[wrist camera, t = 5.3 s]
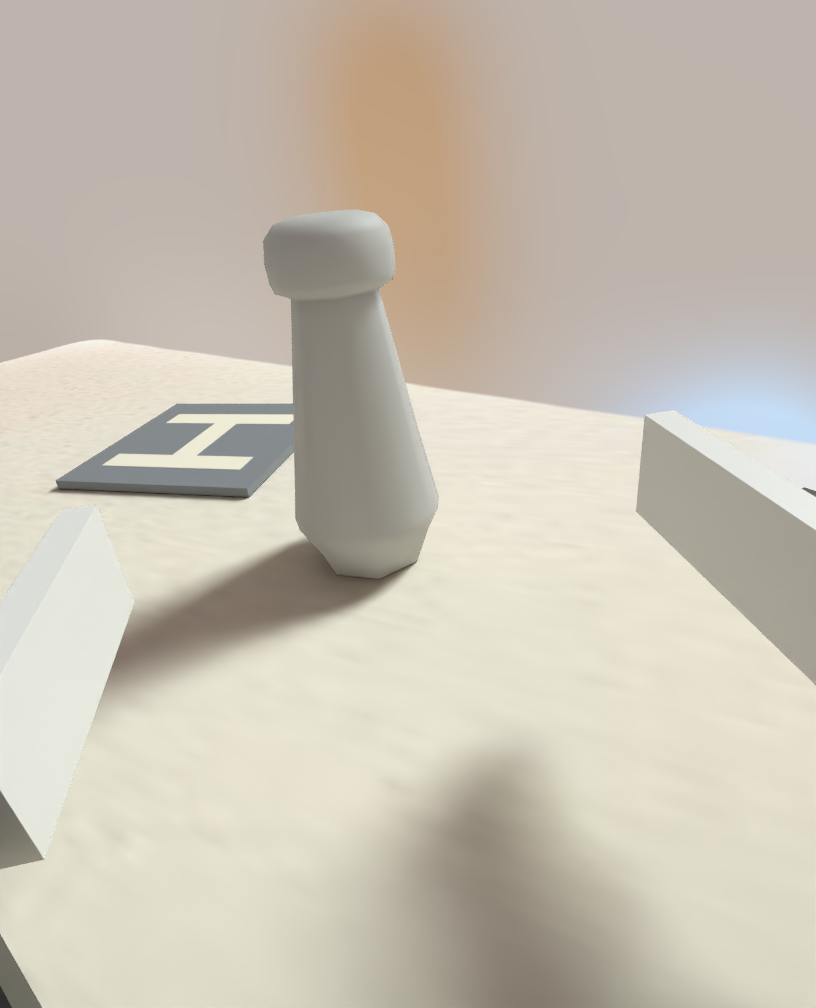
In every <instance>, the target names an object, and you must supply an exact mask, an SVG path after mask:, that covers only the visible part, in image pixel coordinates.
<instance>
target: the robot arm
mask: <svg viewBox="0 0 816 1008" xmlns="http://www.w3.org/2000/svg"><path fill="white" fill-rule="evenodd" d="M636 512H637V513H638V514H639V515H640V516H641V517H643V518H644V519H645V520H646V521H647V522H648V523H649V524H650V525H651V526H652V527H653V528H654V529H655V530H656V531H657V532H658V533H659V534H660V535H661V536H662V537H663V538H664V539H665V540H666V541H667V542H668V543H669V544H670V545H671V546H672V547H674V548H675V549H676V550H677V551H678V552H679V553H680V554H681V555H682V556H683V557H684V558H685V559H686V560H687V561H688V562H689V563H690V564H691V565H692V566H693V567H694V568H695V569H696V570H697V571H698V572H699V573H700V574H701V575H702V576H703V577H705V578H706V579H707V580H708V581H709V582H710V583H711V584H712V585H713V586H714V587H715V588H716V589H717V590H718V591H719V592H720V593H721V594H722V595H723V596H724V597H725V598H726V599H727V600H728V601H729V602H730V603H731V604H732V605H733V606H735V607H736V608H737V609H738V610H739V611H740V612H741V613H742V614H743V615H744V616H745V617H746V618H747V619H748V620H749V621H750V622H751V623H752V624H753V625H754V626H755V627H756V628H757V629H758V630H759V631H760V632H761V633H762V634H763V635H764V636H766V637H767V638H768V639H769V640H770V641H771V642H772V643H773V644H774V645H775V646H776V647H777V648H778V649H779V650H780V651H781V652H782V653H783V654H784V655H785V656H786V657H787V658H788V659H789V660H790V661H791V662H792V663H793V664H794V665H795V666H797V667H798V668H799V669H800V670H801V671H802V672H803V673H804V674H805V675H806V676H807V677H808V678H809V679H810V680H811V681H812V682H813V683H814V684H815V685H816V491H813V490H810V489H808V488H800V487H798V486H797V485H795V484H794V483H792V482H790V481H789V480H787V479H785V478H784V477H782V476H780V475H779V474H777V473H776V472H774V471H772V470H771V469H769V468H767V467H766V466H764V465H763V464H761V463H759V462H758V461H756V460H754V459H753V458H751V457H749V456H748V455H746V454H745V453H743V452H741V451H740V450H738V449H736V448H735V447H733V446H732V445H730V444H728V443H727V442H725V441H723V440H722V439H720V438H719V437H717V436H715V435H714V434H712V433H710V432H709V431H707V430H705V429H704V428H702V427H701V426H699V425H697V424H696V423H694V422H692V421H691V420H689V419H688V418H686V417H684V416H682V415H681V414H679V413H678V412H676V411H674V410H672V411H666V412H659V413H654V414H647V415H645V419H644V430H643V441H642V452H641V463H640V474H639V485H638V496H637V507H636ZM134 602H135V601H134V598H133V595H132V593H131V590H130V588H129V585H128V583H127V580H126V577H125V575H124V572H123V570H122V567H121V565H120V562H119V560H118V557H117V554H116V552H115V549H114V547H113V544H112V542H111V539H110V536H109V534H108V531H107V529H106V526H105V524H104V521H103V518H102V516H101V513H100V511H99V508H98V506H97V504H94V505H88V506H82V507H75V508H69V509H63V510H61V511H60V513H59V514H58V516H57V517H56V519H55V520H54V522H53V523H52V525H51V526H50V528H49V530H48V531H47V533H46V534H45V536H44V537H43V539H42V540H41V542H40V543H39V545H38V546H37V548H36V549H35V551H34V552H33V554H32V555H31V557H30V558H29V560H28V561H27V563H26V564H25V566H24V567H23V569H22V570H21V572H20V573H19V575H18V576H17V578H16V579H15V581H14V582H13V584H12V585H11V587H10V588H9V590H8V591H7V593H6V594H5V596H4V597H3V599H2V600H1V602H0V869H2V868H7V867H11V866H16V865H21V864H25V863H30V862H34V861H39V860H44V859H45V856H46V853H47V850H48V847H49V844H50V842H51V839H52V836H53V833H54V830H55V827H56V825H57V822H58V819H59V816H60V813H61V810H62V807H63V805H64V802H65V799H66V796H67V793H68V790H69V787H70V785H71V782H72V779H73V776H74V773H75V770H76V767H77V765H78V762H79V759H80V756H81V753H82V750H83V747H84V745H85V742H86V739H87V736H88V733H89V730H90V728H91V725H92V722H93V719H94V716H95V713H96V710H97V708H98V705H99V702H100V699H101V696H102V693H103V690H104V688H105V685H106V682H107V679H108V676H109V673H110V670H111V668H112V665H113V662H114V659H115V656H116V653H117V650H118V648H119V645H120V642H121V639H122V636H123V633H124V631H125V628H126V625H127V622H128V619H129V616H130V613H131V611H132V608H133V605H134ZM0 1008H42V1007H41V1005H40V1003H39V1002H38V1000H37V998H36V996H35V995H34V993H33V991H32V989H31V988H30V986H29V984H28V982H27V980H26V979H25V977H24V975H23V973H22V972H21V970H20V968H19V966H18V965H17V963H16V961H15V959H14V958H13V956H12V954H11V952H10V951H9V949H8V947H7V945H6V944H5V942H4V940H3V938H2V937H1V935H0Z"/></svg>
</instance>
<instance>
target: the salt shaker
mask: <svg viewBox="0 0 816 1008" xmlns="http://www.w3.org/2000/svg"><path fill="white" fill-rule="evenodd" d="M263 243H264V265H265V268H266V272H267V276H268V280H269V284H270V286H271V288H272V290H273V292H274V293H275V294H276V295H280V296H283V297H287V298H289V299H291V315H292V316H291V318H292V364H293V365H292V367H293V415H294V462H295V517H296V521H297V524H298V526H299V529H300V531H301V532H302V533H303V534H304V535H305V536H306V537H307V538H308V539H309V540H310V541H311V542H312V543H313V545H314V546H315V547H316V548H317V549H318V550H319V551H320V552H321V553H322V555H323V556H324V557H325V559H326V560H327V561H328V563H329V564H330V566H331V567H332V568H333V570H334V571H335V573H336V574H337V575H344V576H354V577H364V578H374V579H381V578H383V577H385V576H387V575H389V574H391V573H393V572H395V571H397V570H400V569H402V568H404V567H406V566H408V565H410V564H412V563H414V562H416V561H417V560H418V557H419V554H420V551H421V548H422V545H423V542H424V539H425V536H426V533H427V530H428V527H429V525H430V523H431V521H432V519H433V517H434V514H435V512H436V510H437V508H438V497H439V496H438V492H437V489H436V486H435V482H434V479H433V476H432V473H431V469H430V466H429V463H428V460H427V456H426V453H425V450H424V446H423V443H422V440H421V437H420V433H419V430H418V427H417V423H416V419H415V416H414V412H413V409H412V405H411V402H410V398H409V395H408V391H407V387H406V384H405V380H404V377H403V374H402V370H401V366H400V363H399V359H398V356H397V352H396V348H395V345H394V341H393V338H392V334H391V330H390V327H389V324H388V320H387V316H386V313H385V309H384V306H383V302H382V298H381V295H380V291H379V288H380V287H382V286H383V285H384V284H386V283H387V282H389V281H391V280H392V279H393V277H394V272H395V252H394V244H393V241H392V237H391V233H390V229H389V226H388V225H387V224H386V223H385V222H384V221H383V220H382V219H381V218H380V217H379V216H378V215H376V214H375V213H371V212H367V211H363V210H338V211H326V212H319V213H312V214H305V215H300V216H296V217H292V218H288V219H285V220H283V221H281V222H279V223H277V224H275V225H273V226H272V227H271V229H270V230H269V232H268V234H267V235H266V237H265V239H264V241H263Z"/></svg>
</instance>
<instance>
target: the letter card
mask: <svg viewBox="0 0 816 1008" xmlns="http://www.w3.org/2000/svg"><path fill="white" fill-rule="evenodd" d="M293 451H294V415H293V404H176V405H175V406H173V407H171V408H170V409H168V410H167V411H165V412H163V413H162V414H160V415H159V416H157V417H156V418H154V419H152V420H151V421H149V422H148V423H146V424H144V425H143V426H141V427H140V428H138V429H137V430H135V431H133V432H132V433H130V434H129V435H127V436H125V437H124V438H122V439H121V440H119V441H118V442H116V443H114V444H113V445H111V446H110V447H108V448H107V449H105V450H103V451H102V452H100V453H99V454H97V455H95V456H94V457H92V458H91V459H89V460H88V461H86V462H84V463H83V464H81V465H80V466H78V467H76V468H75V469H73V470H72V471H70V472H69V473H67V474H65V475H64V476H62V477H61V478H59V479H57V480H56V483H57V485H58V487H59V489H80V490H103V491H125V492H148V493H171V494H193V495H216V496H238V497H250V496H251V495H252V494H253V493H254V492H255V491H256V489H257V488H258V487H259V486H260V485H261V484H262V483H263V482H264V481H265V480H266V479H267V478H268V477H269V476H270V475H271V474H272V473H273V472H274V471H275V470H276V469H277V468H278V467H279V466H280V465H281V464H282V463H283V462H284V461H285V460H286V459H287V458H288V457H289V456H290V455H291V454H292V453H293Z"/></svg>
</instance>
